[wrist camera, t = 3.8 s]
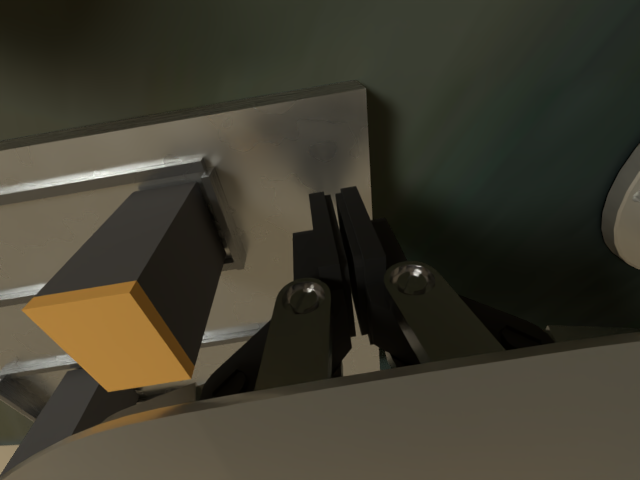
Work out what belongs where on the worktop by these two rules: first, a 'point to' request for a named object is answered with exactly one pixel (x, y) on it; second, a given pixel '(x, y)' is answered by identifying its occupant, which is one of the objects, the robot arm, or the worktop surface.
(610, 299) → the worktop surface
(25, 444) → the fader
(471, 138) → the worktop surface
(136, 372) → the block
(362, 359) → the console
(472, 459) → the robot arm
